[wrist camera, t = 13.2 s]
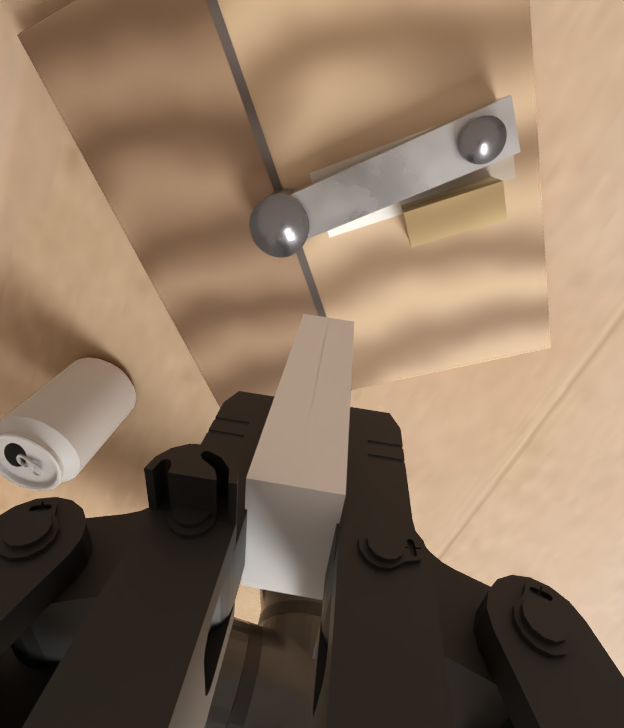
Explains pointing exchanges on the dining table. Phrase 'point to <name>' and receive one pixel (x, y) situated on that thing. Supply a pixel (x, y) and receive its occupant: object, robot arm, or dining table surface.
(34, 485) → the can
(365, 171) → the bar
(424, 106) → the door board
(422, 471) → the dining table surface
